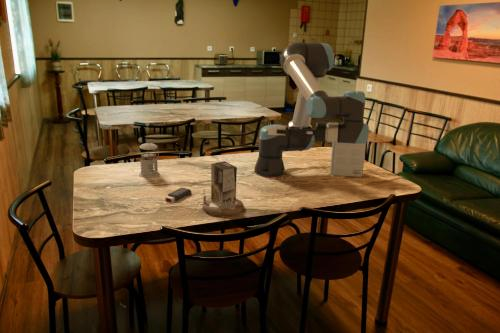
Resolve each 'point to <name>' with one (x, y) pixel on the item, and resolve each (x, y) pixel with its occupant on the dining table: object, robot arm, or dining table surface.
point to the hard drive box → (347, 159)
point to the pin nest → (217, 211)
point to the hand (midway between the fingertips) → (270, 130)
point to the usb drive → (177, 194)
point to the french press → (149, 160)
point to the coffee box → (223, 184)
